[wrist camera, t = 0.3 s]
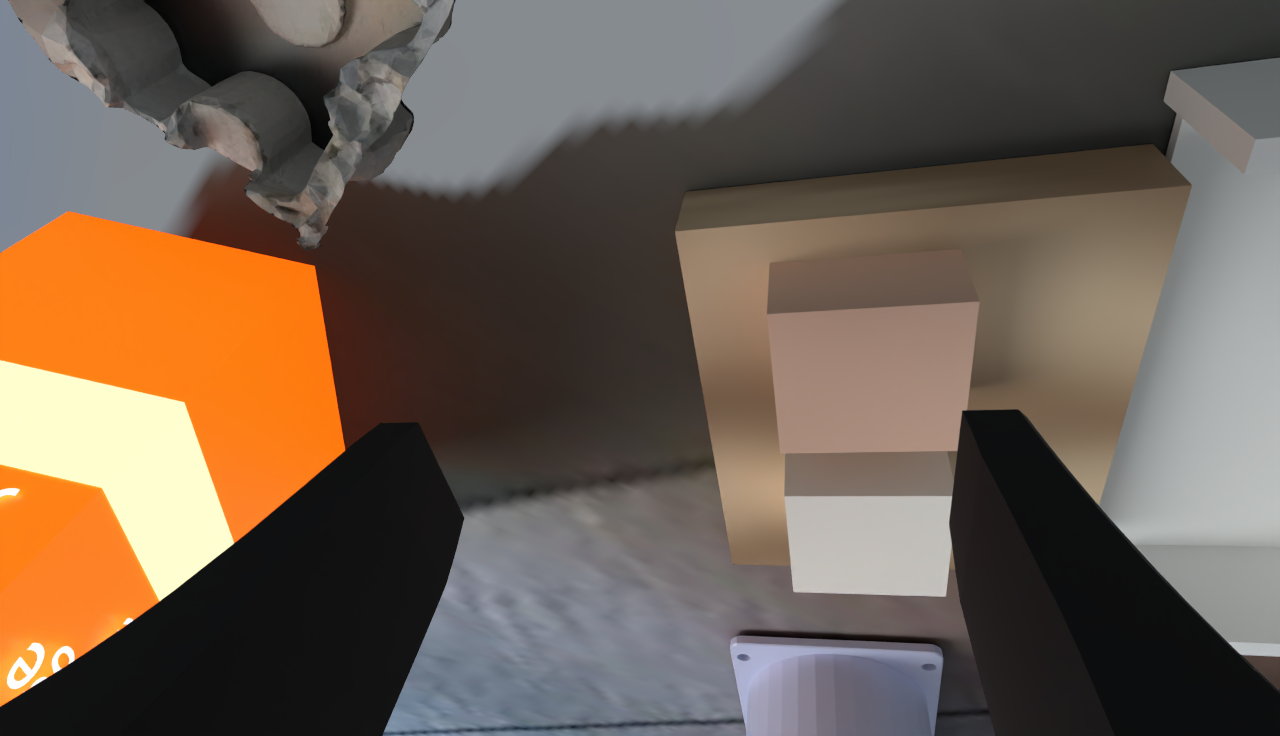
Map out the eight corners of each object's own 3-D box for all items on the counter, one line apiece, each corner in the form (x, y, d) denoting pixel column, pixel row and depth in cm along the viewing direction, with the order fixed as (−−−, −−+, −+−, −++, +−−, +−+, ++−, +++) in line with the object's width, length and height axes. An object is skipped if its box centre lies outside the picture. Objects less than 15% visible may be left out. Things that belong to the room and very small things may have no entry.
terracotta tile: (947, 392, 18) (962, 450, 16) (781, 397, 19) (780, 453, 17) (961, 249, 15) (979, 301, 14) (769, 263, 16) (766, 313, 15)
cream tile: (934, 536, 21) (945, 596, 20) (793, 535, 22) (793, 592, 21) (944, 436, 19) (957, 495, 17) (784, 440, 20) (784, 496, 18)
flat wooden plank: (1060, 517, 23) (1080, 571, 21) (736, 515, 25) (732, 564, 23) (1152, 143, 15) (1191, 185, 14) (685, 191, 18) (675, 231, 16)
